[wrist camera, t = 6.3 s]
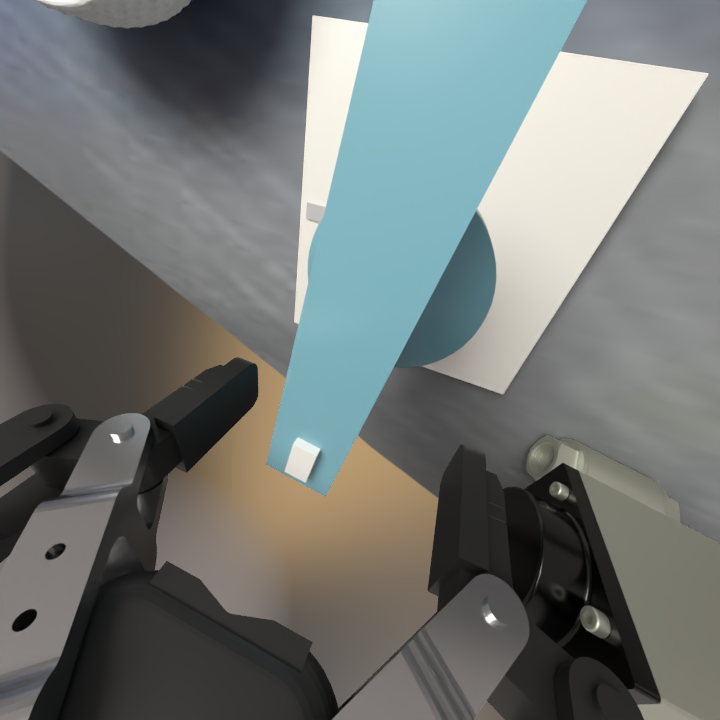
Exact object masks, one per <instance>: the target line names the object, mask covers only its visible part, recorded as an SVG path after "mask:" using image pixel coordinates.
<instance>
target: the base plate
mask: <svg viewBox="0 0 720 720" xmlns="http://www.w3.org/2000/svg"><path fill="white" fill-rule="evenodd" d="M367 27H368V23H362V22H355V21H348V20H341V19H335V18H328V17H321V16H314V15H313V16H312V33H311V50H310V67H309V84H308V100H307V117H306V134H305V151H304V167H303V184H302V201H301V218H300V235H299V251H298V268H297V285H296V302H295V319H294V322H295V323H298V324H299V321H300V317H301V312H302V308H303V304H304V299H305V295H306V291H307V286H308V256H309V250H310V246H311V242H312V239H313V236H314V234H315V231H316V229H317V227H318V225H319V223H320V221H321V220H322V218H323V216H324V213H325V209H326V204H327V200H328V196H329V191H330V187H331V183H332V178H333V174H334V170H335V166H336V161H337V157H338V153H339V148H340V144H341V140H342V135H343V131H344V127H345V122H346V118H347V114H348V109H349V105H350V101H351V96H352V92H353V88H354V83H355V79H356V75H357V71H358V66H359V62H360V58H361V53H362V49H363V45H364V40H365V36H366V32H367ZM707 76H708V73H702V72H695V71H688V70H681V69H674V68H668V67H661V66H654V65H647V64H640V63H634V62H627V61H620V60H613V59H606V58H600V57H593V56H586V55H579V54H572V53H566V52H560V53H559V54H558V56H557V58H556V60H555V62H554V64H553V66H552V68H551V70H550V71H549V73H548V75H547V77H546V79H545V81H544V83H543V85H542V87H541V89H540V90H539V92H538V94H537V96H536V98H535V100H534V102H533V104H532V106H531V108H530V109H529V111H528V113H527V115H526V117H525V119H524V121H523V123H522V125H521V127H520V128H519V130H518V132H517V134H516V136H515V138H514V140H513V142H512V144H511V145H510V147H509V149H508V151H507V153H506V155H505V157H504V159H503V161H502V163H501V164H500V166H499V168H498V170H497V172H496V174H495V176H494V178H493V180H492V182H491V183H490V185H489V187H488V189H487V191H486V193H485V195H484V197H483V199H482V200H481V202H480V204H479V206H478V208H477V209H478V211H479V212H480V214H481V215H482V217H483V219H484V221H485V223H486V226H487V229H488V232H489V235H490V239H491V242H492V246H493V249H494V255H495V261H496V286H495V293H494V297H493V301H492V305H491V307H490V310H489V312H488V314H487V317H486V318H485V320H484V322H483V323H482V325H481V327H480V328H479V330H478V331H477V332H476V333H475V335H474V336H473V337H472V338H471V339H470V340H469V341H468V342H467V343H466V344H465V345H464V346H463V347H461V348H460V349H459V350H457V351H456V352H455V353H453V354H451V355H450V356H448V357H446V358H444V359H442V360H439V361H437V362H434V363H431V364H427V365H424V366H422V367H425V368H428V369H431V370H434V371H436V372H439V373H442V374H445V375H448V376H451V377H454V378H457V379H460V380H462V381H465V382H468V383H471V384H474V385H477V386H480V387H483V388H486V389H488V390H491V391H494V392H497V393H500V394H504V392H505V391H506V389H507V388H508V386H509V385H510V383H511V381H512V380H513V378H514V377H515V375H516V374H517V372H518V371H519V369H520V367H521V366H522V364H523V363H524V361H525V360H526V358H527V356H528V355H529V353H530V352H531V350H532V349H533V347H534V346H535V344H536V342H537V341H538V339H539V338H540V336H541V335H542V333H543V332H544V330H545V328H546V327H547V325H548V324H549V322H550V321H551V319H552V317H553V316H554V314H555V313H556V311H557V310H558V308H559V307H560V305H561V303H562V302H563V300H564V299H565V297H566V296H567V294H568V293H569V291H570V289H571V288H572V286H573V285H574V283H575V282H576V280H577V278H578V277H579V275H580V274H581V272H582V271H583V269H584V268H585V266H586V264H587V263H588V261H589V260H590V258H591V257H592V255H593V254H594V252H595V250H596V249H597V247H598V246H599V244H600V243H601V241H602V239H603V238H604V236H605V235H606V233H607V232H608V230H609V229H610V227H611V225H612V224H613V222H614V221H615V219H616V218H617V216H618V215H619V213H620V211H621V210H622V208H623V207H624V205H625V204H626V202H627V200H628V199H629V197H630V196H631V194H632V193H633V191H634V190H635V188H636V186H637V185H638V183H639V182H640V180H641V179H642V177H643V176H644V174H645V172H646V171H647V169H648V168H649V166H650V165H651V163H652V161H653V160H654V158H655V157H656V155H657V154H658V152H659V151H660V149H661V147H662V146H663V144H664V143H665V141H666V140H667V138H668V136H669V135H670V133H671V132H672V130H673V129H674V127H675V126H676V124H677V122H678V121H679V119H680V118H681V116H682V115H683V113H684V112H685V110H686V108H687V107H688V105H689V104H690V102H691V101H692V99H693V97H694V96H695V94H696V93H697V91H698V90H699V88H700V87H701V85H702V83H703V82H704V80H705V79H706V77H707Z"/></svg>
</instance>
